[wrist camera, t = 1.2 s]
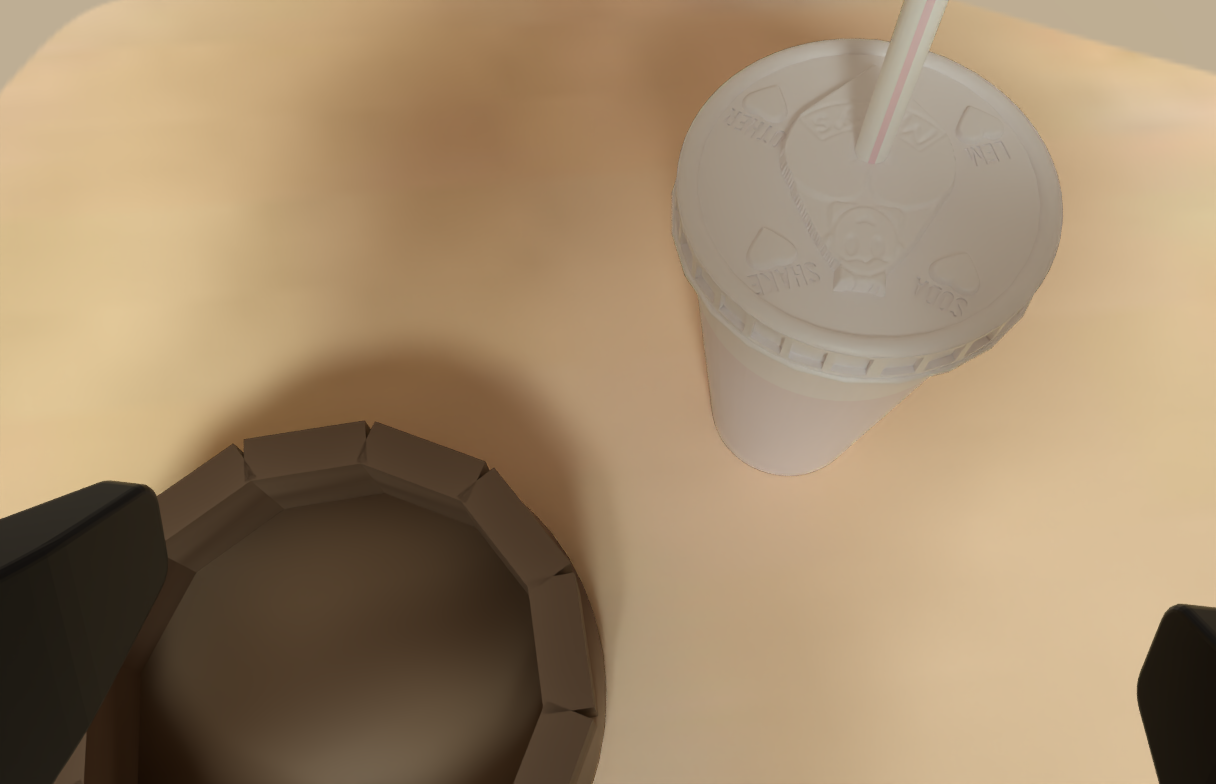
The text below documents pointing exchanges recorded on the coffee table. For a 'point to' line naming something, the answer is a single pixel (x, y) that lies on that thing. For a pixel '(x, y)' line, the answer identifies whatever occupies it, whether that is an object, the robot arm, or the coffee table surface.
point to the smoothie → (855, 234)
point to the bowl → (354, 628)
